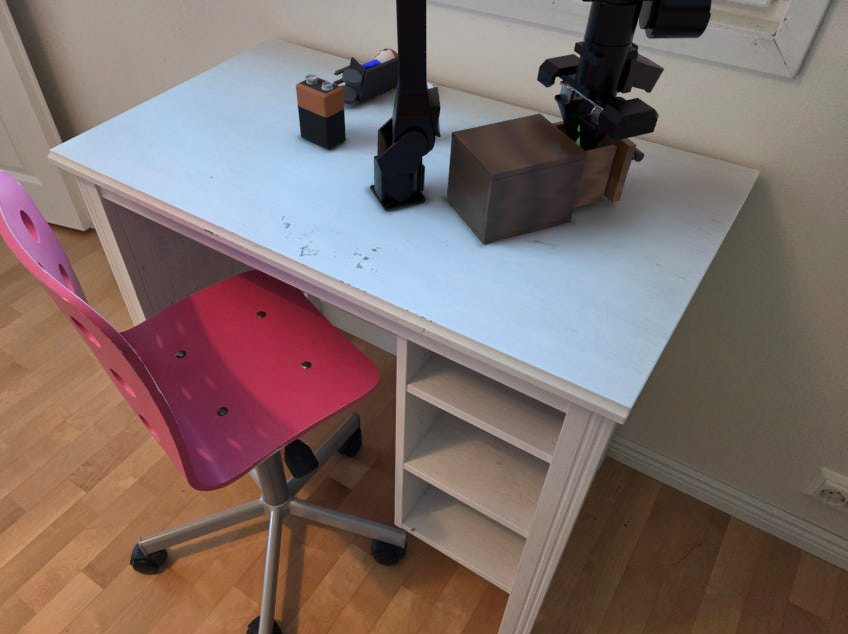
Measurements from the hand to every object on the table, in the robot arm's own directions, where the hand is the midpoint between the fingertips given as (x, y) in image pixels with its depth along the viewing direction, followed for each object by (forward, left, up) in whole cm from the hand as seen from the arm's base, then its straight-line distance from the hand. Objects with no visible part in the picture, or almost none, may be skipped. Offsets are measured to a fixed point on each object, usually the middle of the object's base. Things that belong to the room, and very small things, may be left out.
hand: (579, 154), depth 91 cm
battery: (-28, +29, -7) cm, 42 cm away
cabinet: (-10, 0, -7) cm, 12 cm away
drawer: (0, 0, -6) cm, 6 cm away
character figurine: (-15, +41, -7) cm, 45 cm away
